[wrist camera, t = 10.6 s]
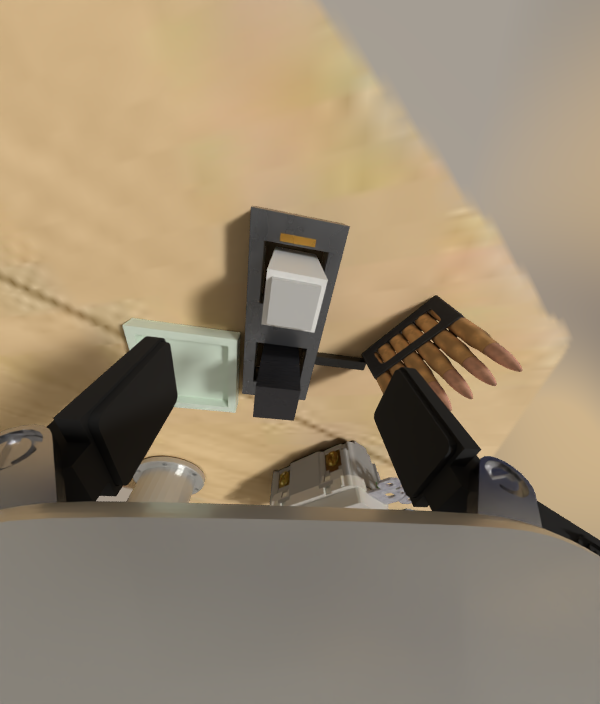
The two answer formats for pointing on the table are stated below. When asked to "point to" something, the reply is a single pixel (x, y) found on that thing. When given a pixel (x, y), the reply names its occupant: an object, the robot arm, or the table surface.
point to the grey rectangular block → (293, 290)
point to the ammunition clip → (437, 349)
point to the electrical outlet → (335, 481)
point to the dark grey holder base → (282, 343)
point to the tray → (197, 362)
